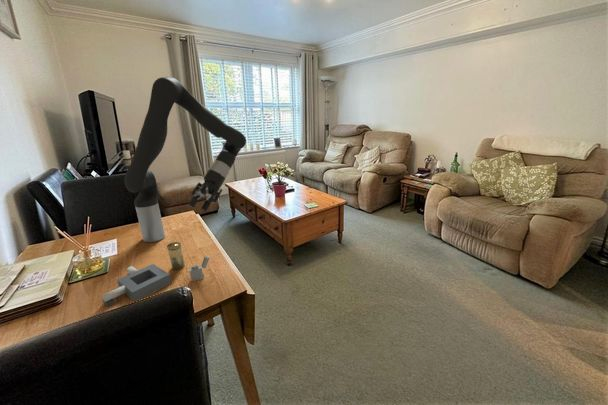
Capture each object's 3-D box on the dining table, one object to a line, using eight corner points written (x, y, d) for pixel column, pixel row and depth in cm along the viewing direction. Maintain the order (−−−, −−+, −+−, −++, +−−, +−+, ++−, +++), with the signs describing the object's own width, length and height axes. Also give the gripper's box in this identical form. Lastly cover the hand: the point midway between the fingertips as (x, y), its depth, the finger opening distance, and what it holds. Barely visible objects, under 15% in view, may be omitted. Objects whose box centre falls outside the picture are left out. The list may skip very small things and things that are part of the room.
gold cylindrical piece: (169, 267, 103) (164, 245, 100) (180, 262, 107) (176, 240, 104) (175, 271, 101) (171, 249, 98) (187, 265, 104) (183, 244, 101)
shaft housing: (93, 292, 90) (90, 283, 89) (148, 267, 104) (146, 259, 103) (113, 312, 80) (110, 302, 79) (171, 282, 94) (169, 274, 93)
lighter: (191, 281, 94) (187, 261, 92) (191, 278, 96) (187, 259, 93) (212, 276, 97) (209, 256, 95) (211, 273, 99) (208, 254, 96)
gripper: (200, 167, 112) (179, 200, 107) (221, 170, 104) (200, 206, 99) (213, 177, 118) (194, 209, 113) (234, 180, 110) (214, 215, 105)
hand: (197, 208), depth 106 cm, fingers open, 8 cm apart
